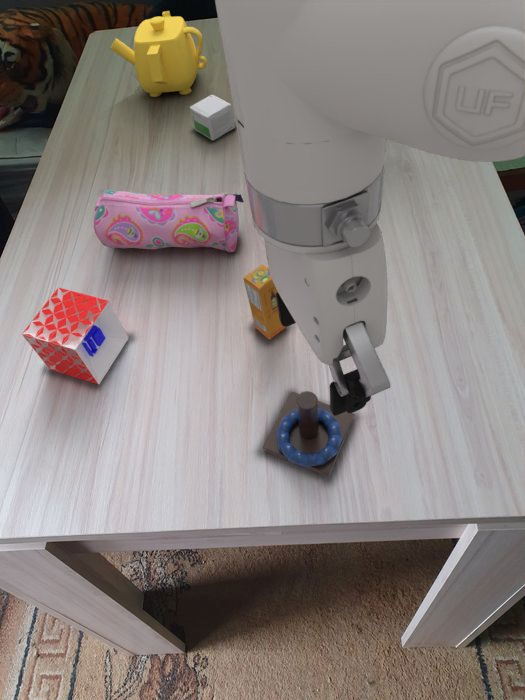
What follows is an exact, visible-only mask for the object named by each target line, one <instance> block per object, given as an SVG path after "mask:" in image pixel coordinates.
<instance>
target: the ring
mask: <svg viewBox="0 0 525 700" xmlns="http://www.w3.org/2000/svg"><path fill="white" fill-rule="evenodd" d="M318 421H321V422H322V423H323V424H324V425H325V426H326V427H327V429H328V433H329V439H328V442H327V445H326V446H325V447H324V448H323V449H321V450H320V451H319V452H316V453H310V454H306V453H303V452H300V451H297V450H296V449H295V448H294V447H293V445H292V444H291V443H290V438H289V433H290V431H291V428H292V426H293V425H294V424H296V423H297V422H298V411H297V408H296V409H294V410H293V411H291V412H290V413H289V414H287V415H286V416H285V417H283V418H282V420H281V423H280V425H279V427H278V430H277V432H276V435H277V441H278V447H279V450H280V451H281V452H282V453H283V454H284V456H285V457H286V458H287V459H288V460H289V461H290V463H292V464H294V463H295V465H297V464H298V465H297V466H299V465H301V466H300V467H302V466H304V467H312V466H318V465H323V464H325V463H326V462H327V461H329V460H330V459H331V458H332V457H334V456H335V455H336V454H337V452H338V450H339V447H340V444H341V441H342V434H341V430H340V426H339V422H338V421H337V420H336V419H335V418H334V417H333V416H332V415H331V414H330V413H329V412H328V411H326V410H323V409H320V408H318ZM289 461H288V462H289ZM304 467H303V468H304Z"/></svg>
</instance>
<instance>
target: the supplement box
mask: <svg viewBox="0 0 525 700" xmlns="http://www.w3.org/2000/svg"><path fill="white" fill-rule="evenodd" d="M243 282H244V286H245V291H246V294H247V300H248V305H249V309H250V312H251V316H252V320H253V325H254V329H256V330H257V331H258V332H260V334H262V335H263V336H264V337H265V338H266V339H267V340H269V341H271V340H272V339H273V338H274V337H276V336H277V335H279V334H280V333H281V332H282V331H284V330H285V329H286V328H287V327H285V326H282V324H281V322H280V319H279V312H278V305H277V299H276V293H278V291H277V289H276V287H275V285H274V283H273V280H272V278H271V274H270V271H269V267H267V266H265V265H264V264H260V265H259V266H258V267H257V268H255V269H254V270H251V272H249V273H248V274H247V275H245V276H244V277H243Z"/></svg>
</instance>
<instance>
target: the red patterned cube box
mask: <svg viewBox="0 0 525 700" xmlns="http://www.w3.org/2000/svg"><path fill="white" fill-rule="evenodd" d="M21 335H22V336H23V337H24V339H25V341H27V342H28V344H29V346H30V347H31V348H32V349H33V351H34V352H35V353H36V354H37V355H38V357H39V358H40V359H41V360H42V361H43V363H44V364H45V365H46V367H47V368H48V369H49V370H50V371H54V372H56V373H59V374H64V375H66V376H70V377H73V378H76V379H79V380H82V381H84V382H85V381H86V382H89V383H92V384H96V385H98V386H99V385H100V384H101V383H102V381H103V379H104V377H105V376H106V374H107V373H108V372H109V370H110V368H111V367H112V365H113V363H114V362H115V361H116V359H117V358H118V356H119V355H120V353H121V351H122V350H123V348H124V346H125V345H126V343H127V342H128V341H129V339H130V337H129V335H128V333H127V332H126V329H125V328H124V325H123V323H122V322H121V320H120V318H119V316H118V314H117V312H116V310H115V308H114V306H113V304H112V303H111V301H110V300H108V299H105V298H102V297H101V298H100V297H97V296H93V295H89V294H85V293H81V292H78V291H74V290H70V289H65V288H62V287H57V288H56V290H55V291H54V292H53V293H52V295H51V296H50V297H49V299H48V300H47V301H46V302H45V304H44V305H43V306H42V307H41V309H40V310H39V311H38V313H37V314H36V315H35V316H34V318H33V319H32V320H31V322H30V323H29V324H28V325H27V327H26V328H25V329H24V331H23V332H22V333H21Z"/></svg>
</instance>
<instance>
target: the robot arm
mask: <svg viewBox="0 0 525 700" xmlns="http://www.w3.org/2000/svg"><path fill="white" fill-rule="evenodd" d="M214 3H215V9H216V13H217V14H216V15H217V19H218V26H219V32H220V39H221V44H222V49H223V56H224V61H225V67H226V74H227V80H228V84H229V92H230V98H231V102H232V110H233V116H234V121H235V127H236V131H237V137H238V144H239V149H240V155H241V160H242V166H243V170H244V172H243V174H244V179H245V184H246V190H247V191H246V192H247V195H248V196H247V197H248V202H249V208H250V212H251V219H252V223H253V226H254V229H255V230H256V231H257V234H258V235H259V236H260V237H261V238H262V239H263V240H264V248H265V254H266V260H267V266H268V269H269V271H270V274H271V278H272V280H273V283H274V285H275V287H276V289H277V291H278V293H276V299H277V305H278V312H279V319H280V322H281V324H282V326H285V327H286V328H289V326H293V325H295V324H296V325H297V328H298V329H299V330H300V331H299V332H301V334H302V335H303V338H304V339H305V341H306V343H307V344H308V345H309V347H310V349H311V350H312V352H313V353H314V355H315V357H316V358H317V359H318V360H319V361H320V362H321V364H324V365H326V366H328V368H329V371H330V374H331V376H332V380H333V381H331V382H330V384H329V405H330V410H331V412H332V413H333V415H334V416H337V415H339V414H341V413H344V412H346V411H347V412H348V413H353V414H354V413H356V412H358V411H360V410H362V409H363V408H364V407H366V405H367V403H368V402H369V401H371V399H372V396H375V395H377V394H379V393H381V392H383V391H386V390H389V389H390V388H391V381H390V379H389V376H388V374H387V373H386V370H385V368H384V366H383V363H382V361H381V359H380V357H379V355H378V353H377V351H376V348H379V347H381V346H383V344H384V342H385V340H386V335H387V334H386V333H387V323H388V296H389V295H388V294H389V293H388V291H389V290H388V265H387V258H386V249H385V243H384V236H383V232H382V230H381V228H380V225H379V223H378V222H379V220H380V217H381V212H382V203H383V191H384V179H385V178H384V177H385V167H386V166H385V165H386V152H387V151H386V150H387V140H388V141H390V142H391V141H392V142H394V143H397V144H401V145H404V146H407V147H410V148H412V149H415V150H419V151H422V152H425V153H429V154H433V155H436V156H440V157H444V158H447V159H448V158H449V159H454V160H458V161H465V162H476V163H477V162H479V163H498V162H506V161H512V160H517V159H520V158H523V157H525V0H214ZM344 343H345V344H344ZM348 358H351V359H352V361H353V363H354V365H355V367H356V369H353V370H351V371H349V372H346V373H344V371H343V367H342V364H341V361H344V360H346V359H348Z"/></svg>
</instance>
